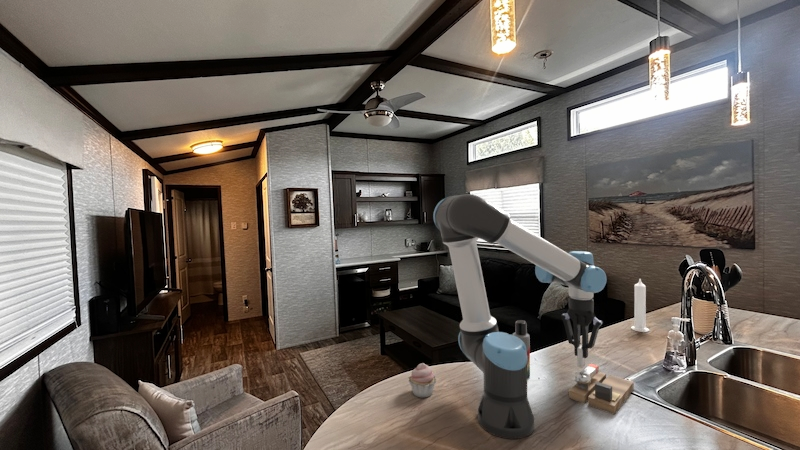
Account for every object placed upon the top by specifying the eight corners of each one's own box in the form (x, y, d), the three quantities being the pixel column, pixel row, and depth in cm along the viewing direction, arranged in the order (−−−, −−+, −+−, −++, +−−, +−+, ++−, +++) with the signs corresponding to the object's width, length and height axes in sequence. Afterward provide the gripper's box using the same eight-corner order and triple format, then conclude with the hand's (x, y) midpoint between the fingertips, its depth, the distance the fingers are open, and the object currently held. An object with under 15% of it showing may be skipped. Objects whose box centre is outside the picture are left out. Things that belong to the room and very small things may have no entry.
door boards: (614, 414, 99) (614, 392, 99) (569, 398, 108) (569, 377, 108) (633, 389, 112) (633, 369, 112) (591, 376, 122) (591, 358, 121)
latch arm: (587, 386, 107) (587, 379, 107) (572, 381, 110) (572, 375, 110) (601, 373, 115) (601, 366, 115) (587, 368, 118) (587, 362, 118)
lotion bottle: (531, 380, 120) (530, 323, 119) (514, 379, 121) (513, 323, 120) (528, 373, 125) (528, 318, 125) (512, 372, 126) (511, 318, 126)
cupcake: (424, 404, 106) (424, 372, 106) (402, 393, 113) (402, 363, 113) (443, 392, 113) (442, 362, 113) (421, 383, 120) (420, 354, 119)
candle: (634, 326, 172) (634, 276, 172) (650, 329, 167) (651, 278, 166) (629, 329, 168) (629, 278, 167) (646, 333, 162) (646, 280, 162)
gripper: (606, 298, 114) (606, 368, 115) (565, 292, 124) (565, 357, 125) (598, 302, 109) (598, 376, 110) (556, 296, 119) (557, 363, 120)
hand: (581, 365), depth 117 cm, fingers closed
